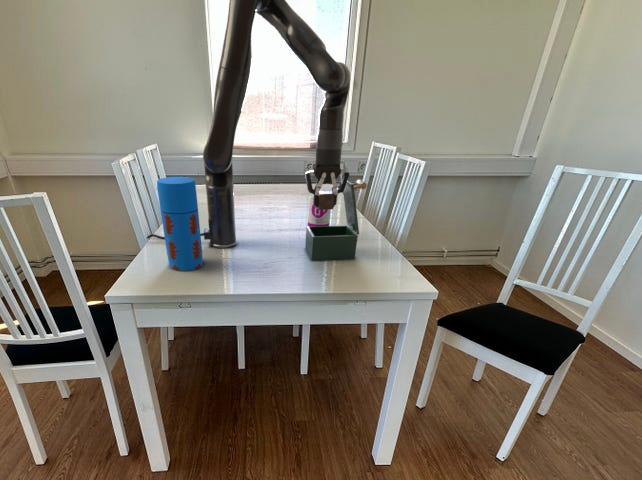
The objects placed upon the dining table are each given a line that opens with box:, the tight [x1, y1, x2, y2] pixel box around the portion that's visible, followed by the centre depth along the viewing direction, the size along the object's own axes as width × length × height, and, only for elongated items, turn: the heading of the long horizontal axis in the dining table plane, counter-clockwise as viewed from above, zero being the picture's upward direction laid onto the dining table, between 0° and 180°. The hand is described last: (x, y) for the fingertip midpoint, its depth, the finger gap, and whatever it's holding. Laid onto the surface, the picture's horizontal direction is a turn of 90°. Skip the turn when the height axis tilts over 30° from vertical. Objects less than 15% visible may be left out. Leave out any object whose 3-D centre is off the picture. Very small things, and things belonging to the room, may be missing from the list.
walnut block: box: [318, 190, 335, 210], centre depth 125 cm, size 5×5×5 cm
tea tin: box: [304, 224, 359, 262], centre depth 133 cm, size 15×12×8 cm
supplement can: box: [306, 193, 332, 228], centre depth 146 cm, size 8×8×15 cm
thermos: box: [156, 176, 204, 272], centre depth 119 cm, size 11×11×25 cm
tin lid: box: [340, 177, 368, 236], centre depth 126 cm, size 15×12×6 cm
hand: (324, 206), depth 126 cm, fingers closed on walnut block, 4 cm apart
